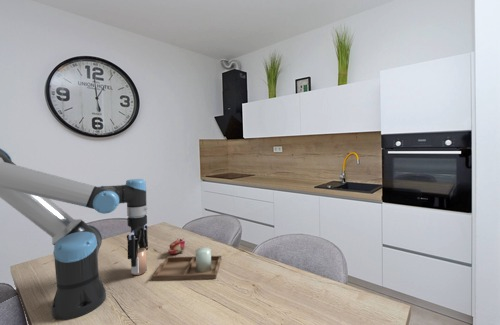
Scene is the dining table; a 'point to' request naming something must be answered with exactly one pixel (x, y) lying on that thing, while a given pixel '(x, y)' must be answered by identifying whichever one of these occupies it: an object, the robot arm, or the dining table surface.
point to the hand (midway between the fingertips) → (139, 269)
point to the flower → (177, 247)
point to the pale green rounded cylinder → (203, 259)
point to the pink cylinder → (141, 261)
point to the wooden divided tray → (185, 269)
